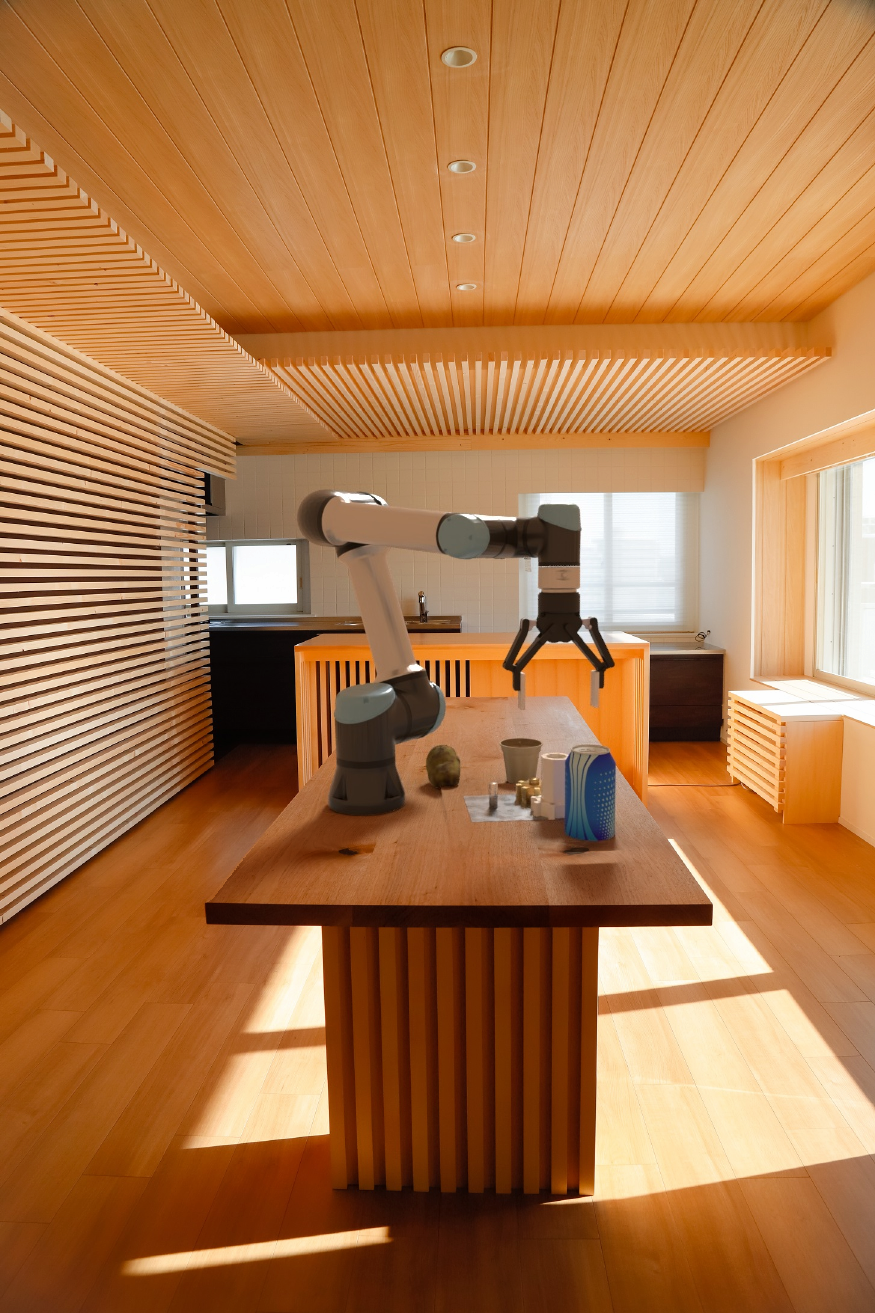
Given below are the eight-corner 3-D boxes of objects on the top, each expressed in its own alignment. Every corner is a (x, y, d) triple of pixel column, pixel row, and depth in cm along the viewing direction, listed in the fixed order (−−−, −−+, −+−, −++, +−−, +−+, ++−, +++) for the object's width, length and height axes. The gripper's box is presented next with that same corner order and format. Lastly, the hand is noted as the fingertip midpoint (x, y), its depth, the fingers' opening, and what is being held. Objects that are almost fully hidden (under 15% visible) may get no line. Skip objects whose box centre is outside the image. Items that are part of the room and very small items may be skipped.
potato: (418, 793, 166) (418, 755, 165) (429, 776, 179) (428, 741, 178) (458, 794, 165) (458, 756, 164) (466, 778, 178) (466, 742, 177)
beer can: (580, 829, 143) (580, 741, 141) (623, 839, 137) (624, 747, 136) (555, 842, 136) (555, 749, 134) (599, 853, 131) (600, 757, 129)
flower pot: (541, 788, 169) (541, 748, 168) (496, 786, 170) (496, 746, 169) (544, 776, 178) (544, 738, 177) (502, 775, 180) (502, 737, 179)
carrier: (472, 830, 143) (471, 797, 142) (463, 803, 159) (463, 773, 158) (593, 826, 144) (594, 793, 144) (573, 799, 160) (573, 770, 159)
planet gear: (536, 820, 143) (536, 763, 142) (527, 805, 152) (527, 751, 151) (586, 819, 144) (586, 761, 142) (574, 804, 152) (574, 749, 151)
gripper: (493, 592, 139) (494, 713, 142) (633, 590, 142) (631, 709, 144) (486, 591, 147) (487, 705, 149) (619, 589, 149) (618, 701, 152)
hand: (558, 707), depth 147 cm, fingers open, 13 cm apart
